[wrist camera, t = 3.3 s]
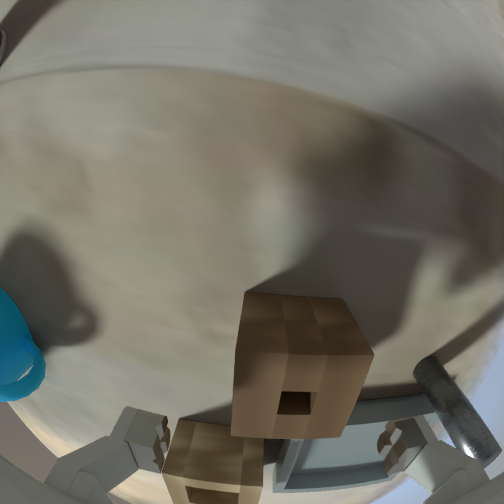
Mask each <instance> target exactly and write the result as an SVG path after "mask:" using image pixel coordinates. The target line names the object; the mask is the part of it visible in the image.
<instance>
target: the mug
mask: <svg viewBox="0 0 504 504" xmlns="http://www.w3.org/2000/svg"><path fill="white" fill-rule="evenodd" d="M33 363H34V365H33ZM32 365H33V367H32V369H31V370H30V372H29V373H28V374H27V375H26V376H24V377H23V378H21V379H20V380H19V381H17V380H18V379H19V378H20V377H21V376H22V375H23V374H24V373H25V372H26V371H27V370H28V369H29V368H30V367H31V366H32ZM45 369H46V363H45V360H44V357H43V355H42V352H41V350H40V349H39V348H38V347H37V346H36V344H35V343H34V342H33V338H32V336H31V333H30V331H29V328H28V325H27V323H26V322H25V320H24V318H23V316H22V314H21V312H20V310H19V309H18V308H17V306H16V305H15V303H14V302H13V300H12V299H11V297H10V296H9V295H8V294H7V293H6V292H5V291H4V290H3V289H2V288H0V402H2V401H15V400H18V399H21V398H23V397H26V396H28V395H30V394H31V393H32V392H34V391H35V390H36V389H37V388H38V387H39V386H40V384H41V382H42V381H43V379H44V377H45Z"/></svg>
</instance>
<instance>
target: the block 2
mask: <svg viewBox="0 0 504 504" xmlns="http://www.w3.org/2000/svg"><path fill="white" fill-rule="evenodd" d="M373 357H374V353H373V351H372V350H371V348H370V346H369V344H368V342H367V341H366V339H365V337H364V335H363V334H362V332H361V330H360V328H359V327H358V325H357V323H356V321H355V320H354V318H353V316H352V314H351V313H350V311H349V309H348V308H347V306H346V304H345V303H344V301H343V299H334V298H317V297H302V296H287V295H274V294H262V293H250V292H245V294H244V300H243V306H242V312H241V319H240V325H239V331H238V337H237V343H236V350H235V366H234V383H233V401H232V419H231V436H238V437H251V438H268V439H323V438H340V436H341V434H342V432H343V430H344V428H345V426H346V424H347V422H348V419H349V417H350V415H351V413H352V411H353V408H354V406H355V404H356V401H357V399H358V396H359V394H360V392H361V389H362V387H363V384H364V382H365V379H366V376H367V374H368V371H369V368H370V366H371V363H372V360H373Z"/></svg>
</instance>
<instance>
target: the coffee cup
mask: <svg viewBox="0 0 504 504" xmlns="http://www.w3.org/2000/svg"><path fill="white" fill-rule="evenodd" d="M6 44H7V35H6V33H5V31H2V30H0V62H1V60H2V58H3V54H4V51H5V48H6Z"/></svg>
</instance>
